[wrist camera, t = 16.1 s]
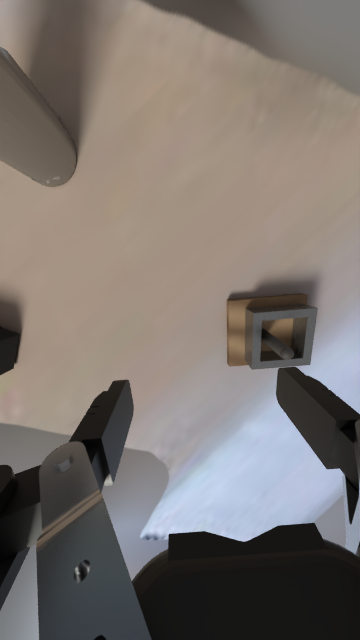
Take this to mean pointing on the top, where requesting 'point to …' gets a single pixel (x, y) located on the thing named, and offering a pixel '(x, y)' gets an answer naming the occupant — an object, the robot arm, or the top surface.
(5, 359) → the toy
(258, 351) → the link
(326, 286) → the top surface
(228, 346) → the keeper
